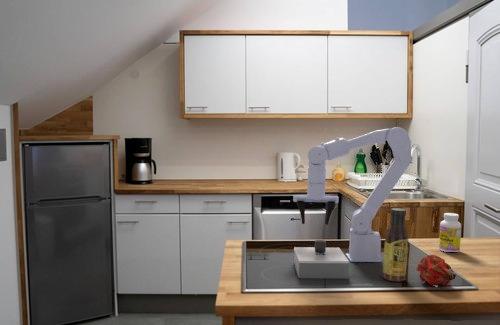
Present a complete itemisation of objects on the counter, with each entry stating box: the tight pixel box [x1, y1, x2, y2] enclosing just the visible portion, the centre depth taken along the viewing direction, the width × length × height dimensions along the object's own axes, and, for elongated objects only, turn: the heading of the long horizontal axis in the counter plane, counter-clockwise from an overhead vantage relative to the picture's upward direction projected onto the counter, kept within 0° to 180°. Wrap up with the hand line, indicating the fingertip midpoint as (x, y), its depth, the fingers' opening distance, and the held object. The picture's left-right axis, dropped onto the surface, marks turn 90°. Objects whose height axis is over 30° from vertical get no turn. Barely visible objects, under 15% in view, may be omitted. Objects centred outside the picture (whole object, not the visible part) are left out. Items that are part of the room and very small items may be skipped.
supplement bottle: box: [438, 212, 462, 253], centre depth 160 cm, size 7×7×13 cm
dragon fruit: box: [415, 254, 457, 287], centre depth 128 cm, size 8×8×12 cm
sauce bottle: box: [382, 207, 409, 283], centre depth 131 cm, size 6×6×20 cm
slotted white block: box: [293, 246, 350, 280], centre depth 138 cm, size 14×14×5 cm
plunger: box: [314, 239, 327, 255], centre depth 138 cm, size 11×11×8 cm
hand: (314, 223), depth 154 cm, fingers open, 7 cm apart
